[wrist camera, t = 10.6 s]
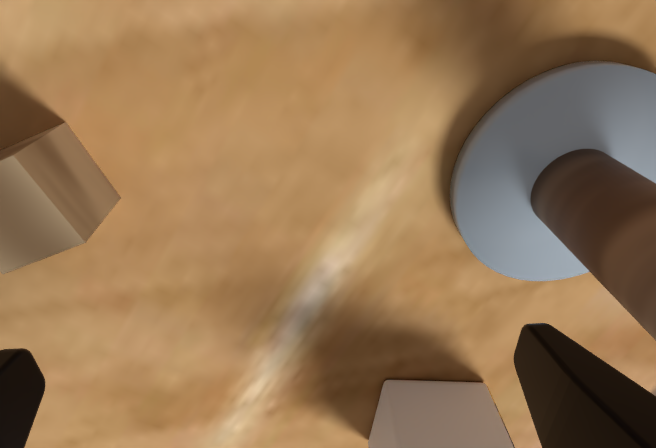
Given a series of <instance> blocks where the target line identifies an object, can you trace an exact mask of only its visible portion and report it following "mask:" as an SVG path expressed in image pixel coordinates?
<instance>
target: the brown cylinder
mask: <svg viewBox="0 0 656 448" xmlns="http://www.w3.org/2000/svg"><path fill="white" fill-rule="evenodd" d="M531 206H532V209H533V212H534V213H535V215H536V216H537V217H538V218H539V219H540V220H541V221H542V222H543V223H544V224H545V225H546V226H547V227H548V228H549V229H550V231H551V232H552V233H553V234H554V235H555V236H556V237H557V238H558V239H559V240H560V241H561V242H562V243H563V244H564V245H565V246H566V247H567V248H568V249H569V250H570V251H571V252H572V253H573V255H574V256H575V257H576V258H577V259H578V260H579V261H580V262H581V263H582V264H583V265H584V266H585V267H586V268H587V269H588V270H589V271H590V272H591V273H592V274H593V275H594V276H595V278H596V279H597V280H598V281H599V282H600V283H601V284H602V285H603V286H604V287H605V288H606V289H607V290H608V291H609V292H610V293H611V294H612V295H613V296H614V297H615V298H616V299H617V300H618V302H619V303H620V304H621V305H622V306H623V307H624V308H625V309H626V310H627V311H628V312H629V313H630V314H631V315H632V316H633V317H634V318H635V319H636V320H637V321H638V322H639V323H640V325H641V326H642V327H643V328H644V329H645V330H646V331H647V332H648V333H649V334H650V335H651V336H652V337H653V338H654V339H655V340H656V183H654V182H652V181H651V180H649V179H647V178H646V177H644V176H642V175H641V174H639V173H637V172H636V171H634V170H632V169H631V168H629V167H627V166H626V165H624V164H622V163H621V162H619V161H617V160H616V159H614V158H612V157H611V156H609V155H607V154H606V153H604V152H602V151H600V150H596V149H578V150H574V151H571V152H568V153H566V154H563V155H562V156H560V157H558V158H556V159H555V160H553V161H552V162H551V163H550V164H548V165H547V166H546V167H545V168H544V169H543V171H542V172H541V173H540V174H539V176H538V177H537V179H536V181H535V183H534V185H533V188H532V191H531Z"/></svg>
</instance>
